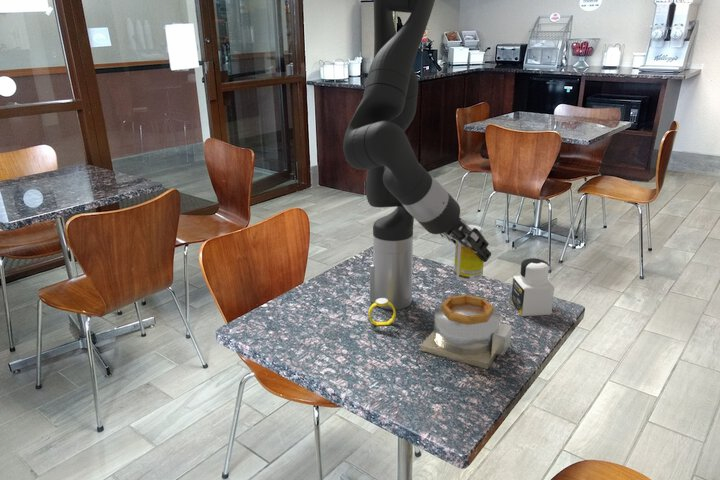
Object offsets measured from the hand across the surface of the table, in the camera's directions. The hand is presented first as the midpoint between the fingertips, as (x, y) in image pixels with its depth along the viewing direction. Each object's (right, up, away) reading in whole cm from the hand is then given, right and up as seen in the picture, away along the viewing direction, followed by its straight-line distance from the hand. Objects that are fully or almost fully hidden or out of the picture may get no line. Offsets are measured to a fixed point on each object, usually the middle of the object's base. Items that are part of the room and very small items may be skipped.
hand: (476, 252), depth 108 cm
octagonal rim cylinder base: (-1, -19, +6) cm, 20 cm away
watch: (-18, -16, +14) cm, 28 cm away
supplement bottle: (-1, -5, +1) cm, 5 cm away
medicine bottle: (+17, -14, +20) cm, 30 cm away
